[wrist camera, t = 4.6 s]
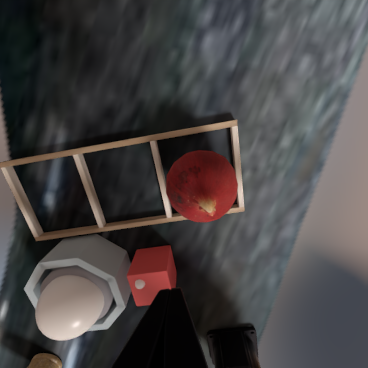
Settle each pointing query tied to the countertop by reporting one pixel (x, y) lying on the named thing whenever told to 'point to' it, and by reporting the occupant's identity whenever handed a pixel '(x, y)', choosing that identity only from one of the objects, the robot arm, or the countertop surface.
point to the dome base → (110, 271)
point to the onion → (202, 186)
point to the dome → (71, 302)
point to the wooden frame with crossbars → (89, 188)
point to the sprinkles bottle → (45, 361)
